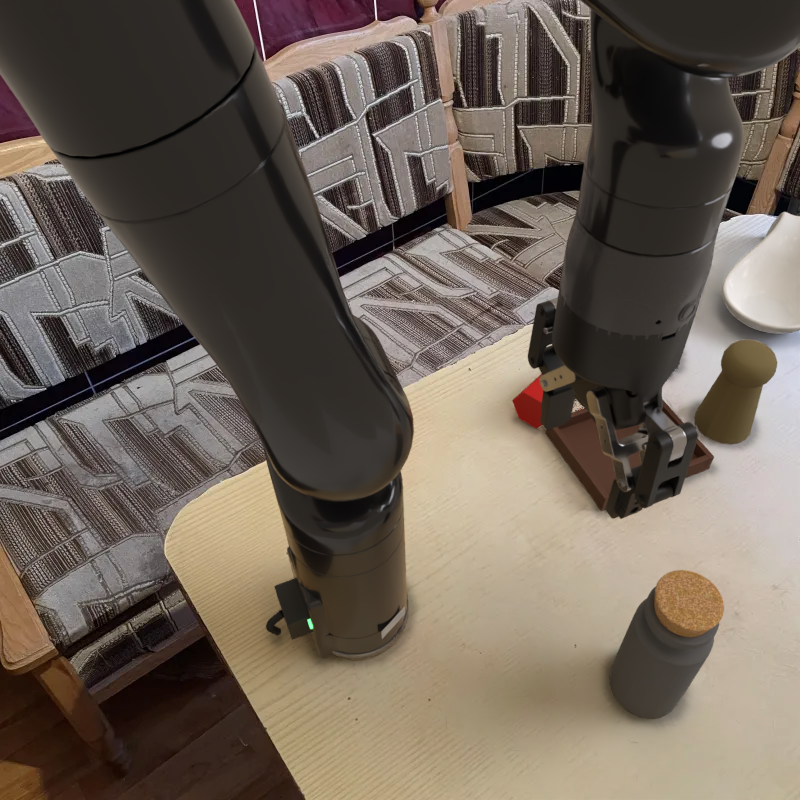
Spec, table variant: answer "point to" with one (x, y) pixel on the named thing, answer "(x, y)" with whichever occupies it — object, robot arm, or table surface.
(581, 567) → the table surface
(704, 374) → the table surface
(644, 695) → the bottle
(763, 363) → the pepper shaker
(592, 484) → the tray
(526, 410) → the pencil
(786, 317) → the spoon rest
